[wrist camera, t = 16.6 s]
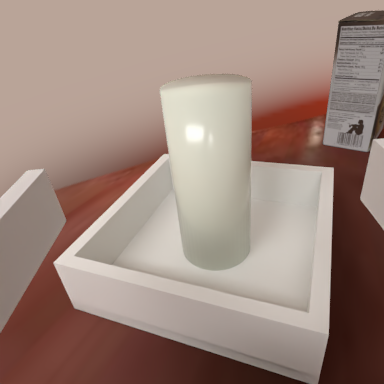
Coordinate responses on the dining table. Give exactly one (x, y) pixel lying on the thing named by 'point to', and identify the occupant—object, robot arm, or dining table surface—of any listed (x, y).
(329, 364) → the dining table surface
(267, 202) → the tote
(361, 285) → the dining table surface
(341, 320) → the dining table surface
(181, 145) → the canister
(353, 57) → the coffee box
